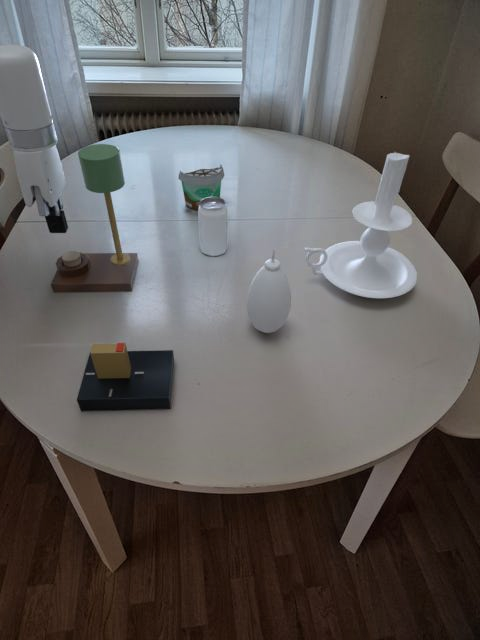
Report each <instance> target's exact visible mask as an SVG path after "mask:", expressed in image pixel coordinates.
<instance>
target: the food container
mask: <svg viewBox="0 0 480 640" xmlns="http://www.w3.org/2000/svg"><path fill="white" fill-rule="evenodd" d="M219 166H220V167H215V168H199V169H196V170H194V171H190V172H189V171H188V172H182V171H181V170H179V172H178V180H179V181H181V187H182V192H183V197H184V203H185V206H186V207H187V208H188V209H189V210H191V211H195V212H198V208H199V206H200V201H201V200H202V199H204V198H207V197H219V198H221V188H222V181H223V179H224V178H225V170H224V167H223V165H222V164H221V163H220V164H219Z"/></svg>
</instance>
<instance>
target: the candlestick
mask: <svg viewBox="0 0 480 640" xmlns="http://www.w3.org/2000/svg"><path fill="white" fill-rule="evenodd" d="M409 159H410V154H403V153H399V152H396V151H394V152H390V153H388V154H386V158H385V162H384V166H383V170H382V173H381V177H380V181H379V185H378V190H377V193H376V197H375V200H371V201H370V200H369V201H364V202H361V203H358V204H356V205H355V206H354V207H353V209H352V210H351V211H352V212H351V213H352V216H353V218H354V219H355V220H356V221H357V222H358V223H360V224H361V225H363V226H366V227H368V228H366V230H365V231H364V232H363V233H362V234H361V236H360V240H348V241H342V242H338V243H335V244H332V245H330V246H329V247H327V248H326V249H324V248H321V247H314V248H311V247H304V251H305V252H307V253H306V255H305V259H304V260H305V263H306V264H307V266H308V267H310V270H311V274H312V275H315V276H324V277H325V278H326V280H328V281H329V282H330V283H331V284H332V285H333V286H335V287H336V288H339V289H340V290H342V291H344V292H346V293H348V294H352V295H355V296H359V297H362V298H367V299H392V298H396V297H400V296H403V295H405V294H406V293H408V292H410V291H411V290H412V289H413V288H414V287H415V286H416V284H417V281H418V272H417V270H416V266H415V265H414V264H413V263H412V262H411V260H410V259H408V257H406V256H405V255H404V254H402V253H401V252H400V251H398V250H397V249H393V248H392V247H389V246H390V243H391V242H390V241H391V239H390V235H389V232H396V231H402V230H405V229H407V228H409V227H410V226H411V225H412V224H413V217H412V215H411V213H409V211H408V210H406V209H405V208H403V207H401V206H398V205H396V201H397V198H398V194H399V193H400V190H401V186H402V183H403V179H404V176H405V173H406V170H407V167H408V162H409ZM317 253H320V256H319V262H317V263H313V262H311V261H310V258H311V256H313V255H314V254H317ZM319 268H320V270H317V269H319Z"/></svg>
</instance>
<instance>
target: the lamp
mask: <svg viewBox="0 0 480 640" xmlns="http://www.w3.org/2000/svg"><path fill="white" fill-rule="evenodd" d="M77 156H78V159H79V160H78V161H79V165H80V168H81V173H82V177H83V182H84V186H85V189H86V190H88V191H89V192H91V193H95V194H103V196H104V201H105V207H106V211H107V215H108V221H109V225H110V230H111V235H112V240H113V244H114V249H115V253H116V254H115V255H113V256H112V257H111V263H112V264H113V265H115V266H124V265H126V264H128V263H129V262H130V256H129V255H128V254H125V253H126V252H123V250H122V245H121V239H120V235H119V230H118V224H117V219H116V214H115V213H116V212H115V209H114V203H113V199H112V194H111V193H113V192H116V191H119V190H121V189H122V188H124V186H125V184H126V181H125V175H124V169H123V164H122V163H123V162H122V157H121V152H120V149H119V147H117V146H116V145H113V144H107V143H97V144H91V145H86V146H84V147H82V148H81V149H79V151H78V152H77Z"/></svg>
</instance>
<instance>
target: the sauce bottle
mask: <svg viewBox="0 0 480 640" xmlns="http://www.w3.org/2000/svg"><path fill="white" fill-rule="evenodd" d="M275 251H276V250H275V249H273V250H272V253H271V258H269V259H267V260H266V261H265V262H264V265H263V266H261V268H260V269H259V270H258V271H257V272H256V274H255V276H254V277H253V279H252V281H251V283H250V286H249V288H248V292H247V296H246V312H247V316H248V319H249V321H250V323H251V324H252V326H253V327H254V328H255V329H256V330H257V331H259V332H261V333H265V334H271V333H274V332H277V331H279V329H280V328H282V326H284V324H285V323H286V321H287V320H288V318H289V314H290V312H291V309H292V308H291V307H292V291H291V289H292V288H291V285H290V282H289V279H288V277H287V274H286V272H285V270H284V269H283V268H282V267H281V262H280V261H279V260H277V259H275V255H276V253H275Z"/></svg>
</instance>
